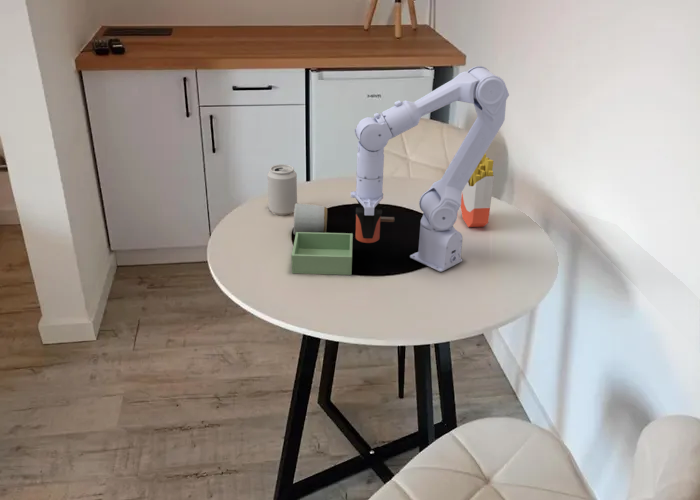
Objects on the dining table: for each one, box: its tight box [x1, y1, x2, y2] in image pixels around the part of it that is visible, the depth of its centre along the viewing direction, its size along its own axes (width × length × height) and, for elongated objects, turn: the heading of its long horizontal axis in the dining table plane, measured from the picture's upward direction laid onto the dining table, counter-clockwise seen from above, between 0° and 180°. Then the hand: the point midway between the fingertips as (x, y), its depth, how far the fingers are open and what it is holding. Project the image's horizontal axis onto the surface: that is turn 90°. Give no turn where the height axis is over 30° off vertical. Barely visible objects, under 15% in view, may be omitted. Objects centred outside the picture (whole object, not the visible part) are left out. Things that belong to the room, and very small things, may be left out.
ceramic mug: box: [293, 203, 328, 236], centre depth 167 cm, size 11×8×8 cm
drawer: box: [291, 232, 354, 276], centre depth 154 cm, size 13×12×4 cm
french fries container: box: [460, 153, 495, 228], centre depth 172 cm, size 5×11×18 cm, turn 7°
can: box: [267, 164, 298, 216], centre depth 177 cm, size 8×8×12 cm
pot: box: [355, 213, 395, 244], centre depth 151 cm, size 8×5×6 cm, turn 89°
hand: (367, 231), depth 151 cm, fingers closed on pot, 5 cm apart
